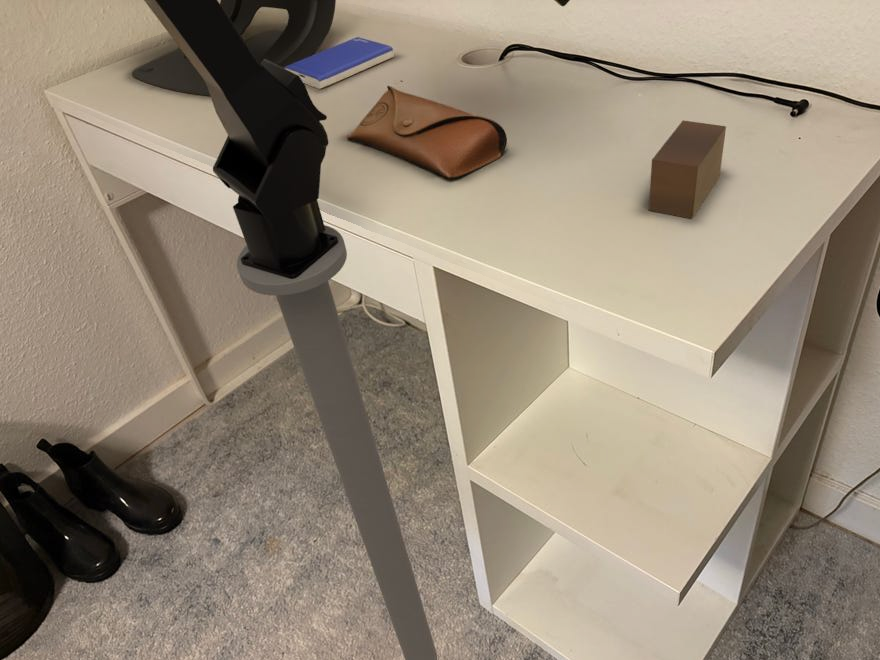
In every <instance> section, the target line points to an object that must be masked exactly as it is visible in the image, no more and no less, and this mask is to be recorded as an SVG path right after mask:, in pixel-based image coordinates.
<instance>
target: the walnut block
mask: <svg viewBox="0 0 880 660" xmlns="http://www.w3.org/2000/svg"><path fill="white" fill-rule="evenodd" d="M726 131H727V126H726V125H720V124H714V123H713V124H711V123H706V122H705V123H704V122H698V121H691V120H681V122H680V123H679V124H678V126H677V127H676V129H675V130H674V131H673V132H672V134H671V135H670V136H669V137H668V138H667V139H666V141H665V142H664V144H663V145H662V146H661V147H660V149H659V150H658V151H657V152H656V153H655V155H654V156H653V158H652V159H651V168H650V182H649V183H650V184H649V200H648V211H649V212H656V213H659V214H660V213H661V214H666V215H671V216H675V217H676V216H677V217H680V218H681V217H682V218H685V219H693V218H694V217H695V215H696V213H697V212H698V211H699V209H700V207H701V206H702V204H703V203H704V201H705V200H706V198H707V197H708V195H709V193H710V192H711V191H712V189H713V187H714V186H715V184H716V183H717V182H718V179H719V178H720V176H721V170H722V169H721V168H722V161H723V153H724V145H725V138H726Z"/></svg>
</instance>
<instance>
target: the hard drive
mask: <svg viewBox="0 0 880 660" xmlns="http://www.w3.org/2000/svg"><path fill="white" fill-rule="evenodd" d="M394 57H395V53H394V49H393V47H392V46H390V45H388V44H385V43H381V42H378V41H374V40H370V39H368V38H364V37H360V36H356V37H352V38H351V39H348V40H346V41H343V42H341V43H339V44H336V45H334V46H332V47H330V48H327V49H325V50H322V51H319V52H317V53H314V55H312V56H310V57H307V58H305V59H303V60H300V61H298V62H295V63H293V64H291V65H288V66H286V67H284V69H286V70H288V71H290V72H292V73H294V74H296V75H298V76H299V77H300V78H301V80H302V82H303V83H304V85H307V86H310V87H313V88H315V89H319V90H321V89H323V88H325V87H328V86H331V85H333V84H335V83H338V82H339V81H342V80H344V79H347V78H349V77H351V76H354V75H355V74H358V73H360V72H363V71H365V70H367V69H369V68H371V67H374V66H376V65H378V64H381V63H383V62H386V61H388V60H390V59H392V58H394Z"/></svg>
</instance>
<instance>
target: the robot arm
mask: <svg viewBox="0 0 880 660" xmlns="http://www.w3.org/2000/svg"><path fill="white" fill-rule="evenodd" d="M143 1H144V3H145V4H146V5H147V6H148V8H149V9H150V10H151V12H152V13H153V14H154V16H155V17H156V18H157V20H158V21H159V23H160V24H161V25H162V26H163V27H164V29H165V30H166V32H167V33H168V34H169V35H170V37H171V38H172V40H173V41H174V42H175V44H176V45H177V46H178V47H179V48H180V49H181V50H182V51H183V53H184V54H185V55H186V57H187V58H188V59H189V60H190V62H191V63H192V64H193V66H194V67H195V68H196V70H197V71H198V72H199V74H200V75H201V76H202V78H203V79H204V81H205V83H206V85H207V87H208V90H209V93H210V96H209V97H210V98H211V102H212V104H213V108H214V111H215V113H216V115H217V117H218V119H219V121H220V123H221V125H222V126H223V128H224V130H225V133H226V135H227V137H226V139H225V141H224V143H223V145H222V147H221V149H220V152H219V154H218V156H217V158H216V160H215V162H214V165H213V166H212V171H213V173H214V174H215V175H216V177H217V178H218V179H219V180H220V182H221V183H223V185H224V186H225V187H226V188H228V189H230V190H232V191H233V192H234V193H235V194H237V195H238V197H237V203H235V204H234V205H233V206H232V209H233V212H234V214H235V217H236V220H237V222H238V226H239V228H240V230H241V234H242V236H243V239H244V242H245V244H246V246H247V247H248V250H249V252H248V253H247V254H245V255H244V256H243V257H242V258H241V262H242V264H243V265H245V266H249V267H252V268H255V269H259V270H262V271H265V272H269V273H272V274H275V275H279V276H282V277H285V278H289V279H295V278H297V277H299V276H300V275H301V274H302V273H303V272H305V271H306V270H307V269H308V268H309V267H310V266H312V265H313V264H314V263H315V262H316V261H317V260H319V259H320V258H321V257H322V256H323V255H325V254H326V253H327V252H328V251H329V250H330V249H332V248H333V247H334V246H335V245H336V244H337V243H338V238H337V236H334V235H330V234H326V233H324V231H325V226H326V225H325V223H324V219H323V216H322V213H321V208H320V205H319V202H318V199H319V196H320V185H321V184H320V183H321V171H322V170H321V169H322V163H323V161H324V159H325V158H326V157H325V156H326V152H327V147H328V145H329V137H328V133H327V131H326V129H325V127H324V125H323V123H322V121H326V120H327V118H328V115H326V114H325V113H323V112H321V111H320V110H319V109H318V108H317V106H316V105H315V104H314V103H313V100H312V98H311V97H310V94H309V92H308V90H307V87H306V84H305V83H303V82H302V80H301V78H300V77H299V76H298V75H296V74H294V73H292V72H290V71H288V70H286V69H284V68H282V67H280V66H278V65H276V64H274V63H272V62H270V61H268V60H266V59H264V60H263V61H262V62H261V63H260V62H259V61H258V60H257V59H256V57H255V56H254V54H253V53H252V51H251V50H250V48H249V47H248V45H247V44H246V42H245V41H246V40H245V39H244V37H243V36H242V35H240V33H239V32H238V30H237V29H236V27H235V26H234V24H233V23H232V21H231V20H230V18H229V17H228V15H227V14H226V12H225V11H224V10H223V8H222V7H221V5H220V1H219V0H143ZM570 1H571V0H554V2H556V3H557V4H558V5H559V6H561V7H566V5H568V3H569V2H570ZM324 225H325V226H324Z"/></svg>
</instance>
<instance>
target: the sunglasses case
mask: <svg viewBox="0 0 880 660" xmlns="http://www.w3.org/2000/svg"><path fill="white" fill-rule="evenodd" d="M386 88H387V90H386V91H385V92H384V93H383V94H382V96H381V97H380V98H379V99H378V101H377V102H376V103H375V105H374V106H372V108H371V109H370V111H368V113H367V114H366V115H365V117H364V118H363V119H361V121H360V122H359V123H358V125H357V126H356V128H355V129H354V130H353V132H352V133H350V134H347V135H346V136H345V137H346V139H347V140H351V141H355V142H359V143H362V144H365V145H368V146H370V147H373V148H375V149H378V150H380V151H382V152H385V153H387V154H390V155H392V156H395V157H397V158H399V159H402V160H404V161H406V162H408V163H409V164H413V165H415V166H417V167H420V168H422V169H424V170H427V171H430V172H431V173H434V174H437V175H440V176H443V177H445V178H447V179H455V178H460V177H463V176H465V175H468V174H472V173H473V172H476V171H478V170H479V169H481V168H483V167H485V166H487V165H489V164H491V163H493V162H495V161H497V160H498V159H500V158H502V156H503V155H504V153H505V151H506V148H507V144H508V138H507V137H508V136H507V133H506V131H505V129H504V128H503V126H502V125H501V124H500V123H498V122H497V121H495V120H493V119H491V118H488V117H485V116H481V115H480V116H479V115H475V114H472V113H469V112H465V111H463V110H461V109H458V108H455V107H453V106H449V105H446V104H443V103H440V102H437V101H435V100H431V99H429V98H428V99H427V98H424V97H421V96H417V95H414V94H411V93H408V92H404V91H402V90H399V89H396V88H395V87H393V86H391V85H387V86H386Z"/></svg>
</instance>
